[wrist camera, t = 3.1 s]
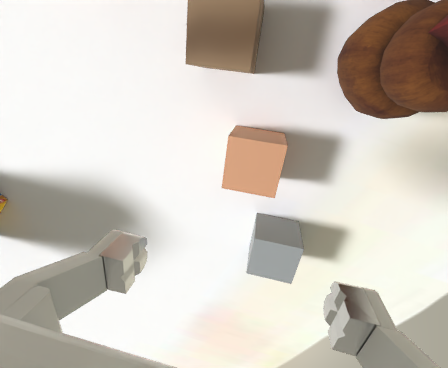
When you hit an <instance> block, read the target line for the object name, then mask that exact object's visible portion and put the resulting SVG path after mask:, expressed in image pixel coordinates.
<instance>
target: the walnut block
mask: <svg viewBox="0 0 448 368" xmlns="http://www.w3.org/2000/svg"><path fill="white" fill-rule="evenodd" d="M263 14H264V0H188V12H187V41H186V64H189V65H194V66H199V67H205V68H212V69H220V70H228V71H236V72H244V73H252V74H254V71H255V65H256V58H257V52H258V46H259V39H260V33H261V27H262V20H263Z"/></svg>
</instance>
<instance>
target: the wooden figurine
mask: <svg viewBox="0 0 448 368" xmlns="http://www.w3.org/2000/svg"><path fill="white" fill-rule="evenodd" d="M337 74H338V78H339V83H340V86H341V88H342V91H343V93H344V95H345V97H346V99H347V100H348V101H349V102H350V104H351V105H352V106H353V107H354V109H355V110H356V111H358V112H361V113H363V114H367V115H370V116H373V117H376V118H381V119H388V118H401V117H409V116H411V115H413V114H416V113H418V112H447V111H448V0H441V1H438V2H436V3H435V2H432V1H429V0H407V1H402V2H398V3H395V4H394V5H392V6H390V7H388V8H386V9H384V10H383V11H381V12H379V13H377V14H375V15H374V16H372V17H371V18H369V19H368V20H367V21H366V22H365V23H363V24H362V25H361V26H360V27H359V28H358V29H357V30H356V31H355V32H354V33H353V34H352V35H351V36H350V37H349V38H348V39H347V41H346V42H345V44H344V46H343V48H342V50H341V52H340V54H339V57H338V71H337Z"/></svg>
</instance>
